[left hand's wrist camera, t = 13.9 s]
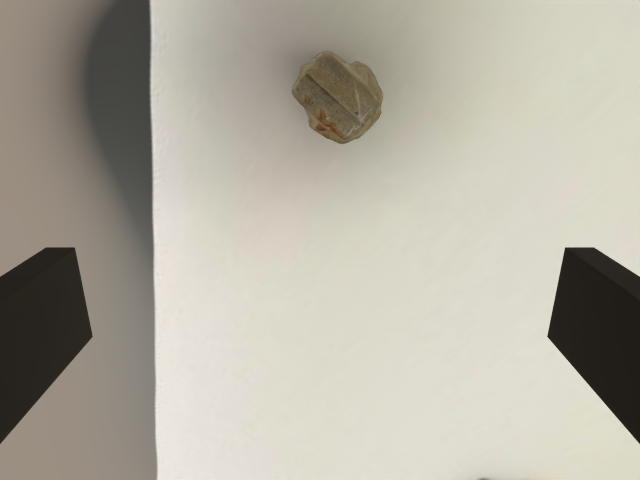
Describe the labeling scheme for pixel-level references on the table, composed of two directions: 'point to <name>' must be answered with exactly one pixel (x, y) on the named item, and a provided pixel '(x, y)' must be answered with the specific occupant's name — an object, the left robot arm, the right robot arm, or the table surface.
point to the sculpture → (338, 97)
